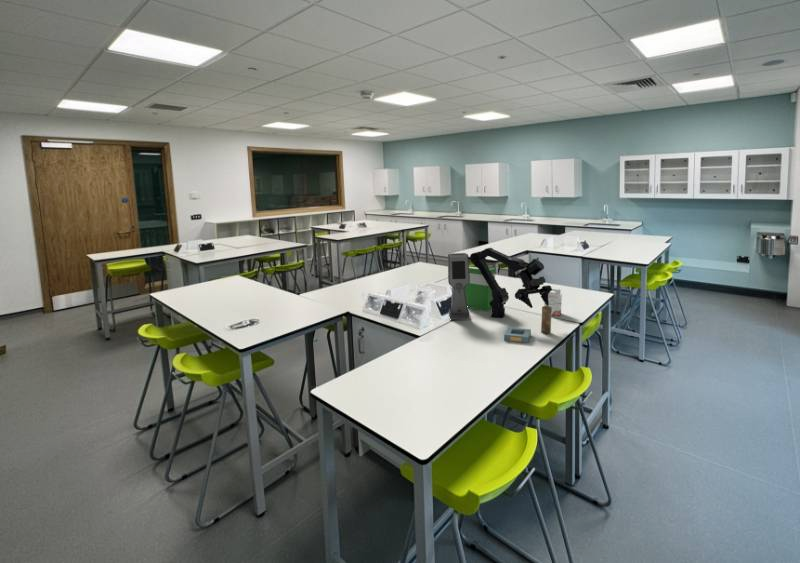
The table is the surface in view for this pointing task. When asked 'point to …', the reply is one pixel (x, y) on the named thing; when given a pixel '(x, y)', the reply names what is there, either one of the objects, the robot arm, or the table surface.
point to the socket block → (517, 335)
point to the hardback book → (478, 290)
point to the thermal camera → (458, 285)
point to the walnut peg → (546, 320)
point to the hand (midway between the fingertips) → (540, 306)
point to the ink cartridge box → (555, 301)
